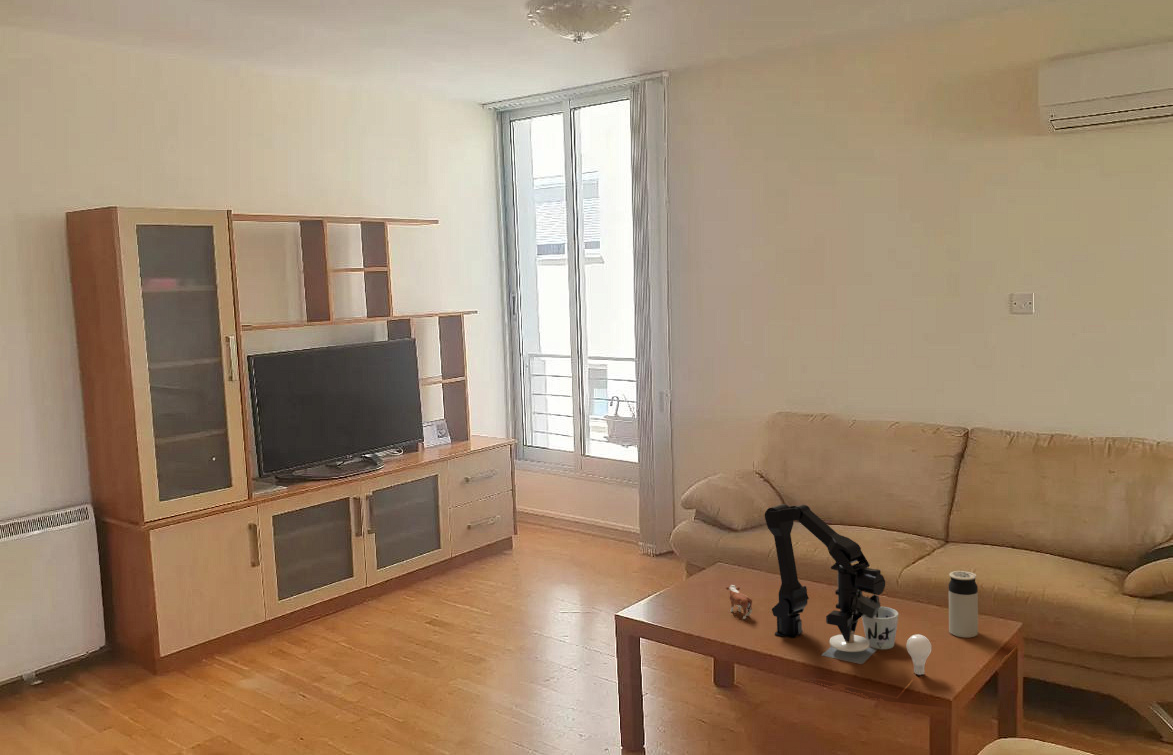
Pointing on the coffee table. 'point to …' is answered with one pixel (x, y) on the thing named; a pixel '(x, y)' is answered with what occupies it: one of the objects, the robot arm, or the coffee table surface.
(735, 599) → the bull figurine
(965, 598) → the travel mug
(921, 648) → the lightbulb
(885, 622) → the mug
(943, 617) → the coffee table surface
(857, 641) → the lid
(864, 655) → the mat
